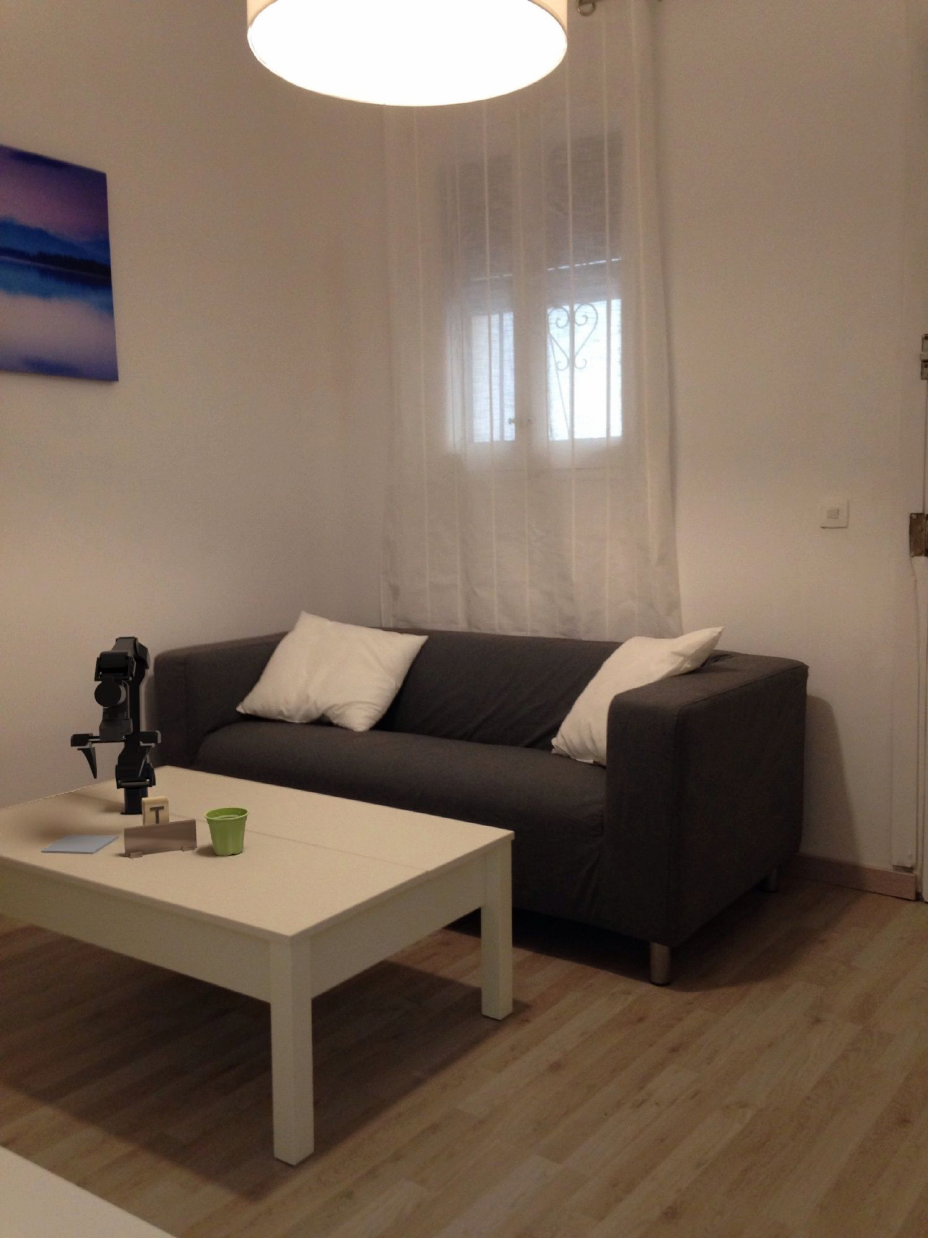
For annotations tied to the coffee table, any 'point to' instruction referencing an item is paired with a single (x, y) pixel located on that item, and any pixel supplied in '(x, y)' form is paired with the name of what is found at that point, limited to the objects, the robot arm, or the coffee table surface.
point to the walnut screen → (160, 838)
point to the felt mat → (80, 844)
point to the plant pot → (227, 829)
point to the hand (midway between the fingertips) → (116, 777)
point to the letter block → (155, 810)
